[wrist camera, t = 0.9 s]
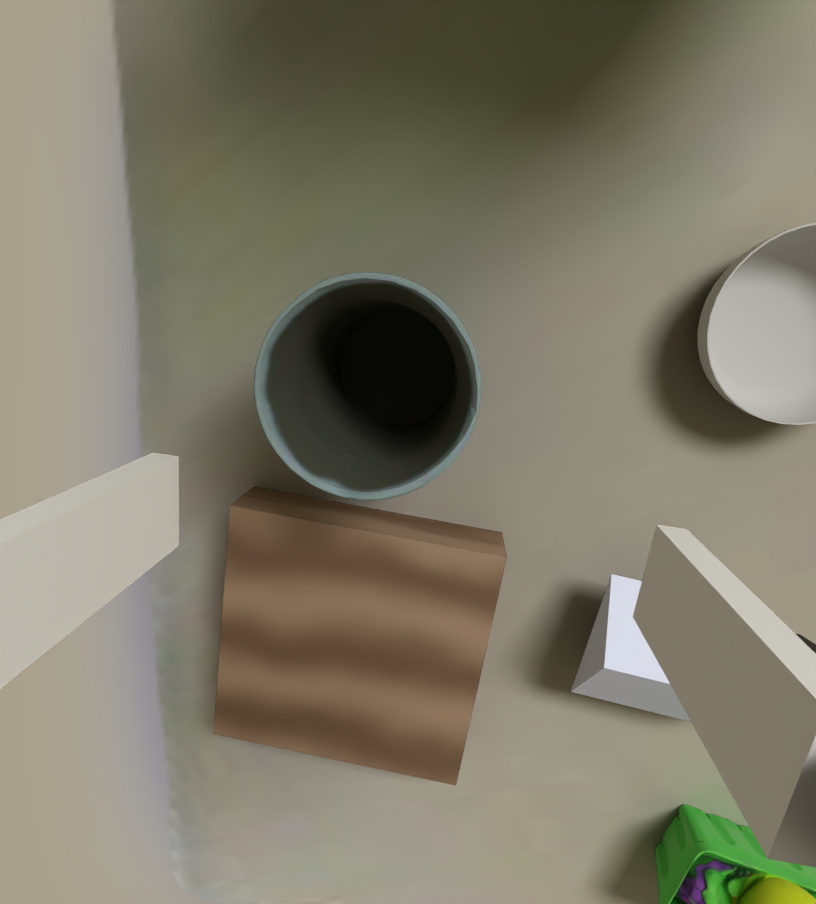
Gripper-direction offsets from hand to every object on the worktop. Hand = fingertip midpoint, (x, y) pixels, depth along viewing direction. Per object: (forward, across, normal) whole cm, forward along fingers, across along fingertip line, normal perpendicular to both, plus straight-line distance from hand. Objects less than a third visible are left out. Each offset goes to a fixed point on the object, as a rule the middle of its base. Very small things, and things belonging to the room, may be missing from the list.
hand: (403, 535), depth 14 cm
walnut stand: (+21, -4, -17) cm, 27 cm away
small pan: (+22, +23, +8) cm, 33 cm away
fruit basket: (+21, +26, -31) cm, 46 cm away
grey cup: (+22, -3, +2) cm, 22 cm away
